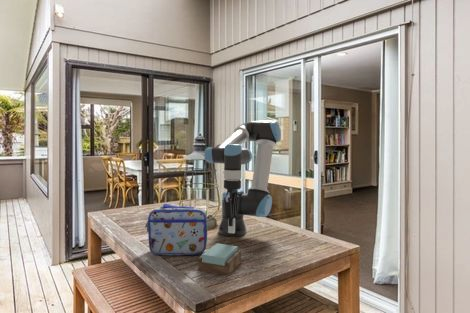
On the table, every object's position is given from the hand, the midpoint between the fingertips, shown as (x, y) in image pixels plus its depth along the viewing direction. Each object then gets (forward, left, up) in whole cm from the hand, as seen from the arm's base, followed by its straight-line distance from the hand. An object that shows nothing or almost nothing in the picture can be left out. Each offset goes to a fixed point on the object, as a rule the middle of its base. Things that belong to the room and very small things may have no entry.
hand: (231, 232), depth 142 cm
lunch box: (+6, -24, -11) cm, 27 cm away
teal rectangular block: (+12, 0, -7) cm, 14 cm away
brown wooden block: (+12, 0, -10) cm, 16 cm away
